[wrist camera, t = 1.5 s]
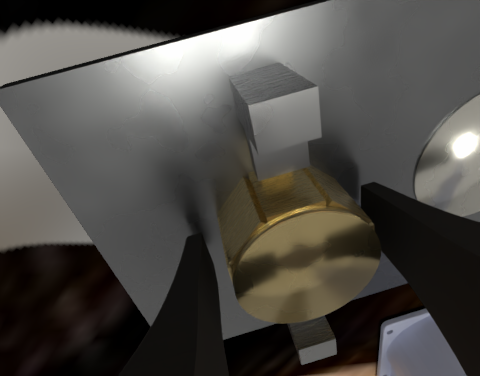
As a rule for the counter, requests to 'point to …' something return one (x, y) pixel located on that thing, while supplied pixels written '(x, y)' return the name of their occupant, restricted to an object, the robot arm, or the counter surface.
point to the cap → (296, 245)
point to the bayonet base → (259, 131)
